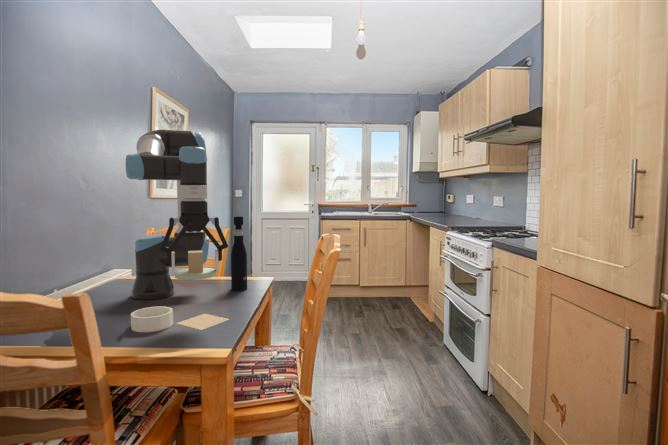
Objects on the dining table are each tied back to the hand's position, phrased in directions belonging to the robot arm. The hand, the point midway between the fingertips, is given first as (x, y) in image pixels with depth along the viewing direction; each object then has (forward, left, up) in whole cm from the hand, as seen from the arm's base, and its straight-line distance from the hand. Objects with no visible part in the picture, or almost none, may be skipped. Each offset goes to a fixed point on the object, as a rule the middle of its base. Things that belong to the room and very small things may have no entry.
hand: (195, 272), depth 117 cm
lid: (0, 0, -1) cm, 1 cm away
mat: (+2, +1, -16) cm, 16 cm away
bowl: (-8, -9, -16) cm, 20 cm away
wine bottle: (-19, +39, -16) cm, 47 cm away
